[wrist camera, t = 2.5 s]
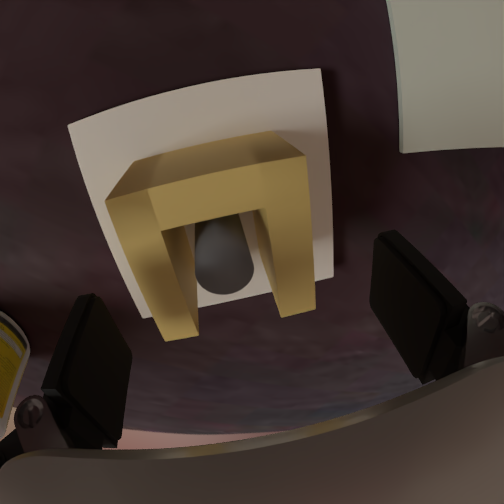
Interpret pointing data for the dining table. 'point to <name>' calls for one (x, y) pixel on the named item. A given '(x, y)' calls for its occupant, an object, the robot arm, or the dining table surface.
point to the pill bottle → (10, 365)
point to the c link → (209, 207)
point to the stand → (203, 131)
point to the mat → (449, 73)
